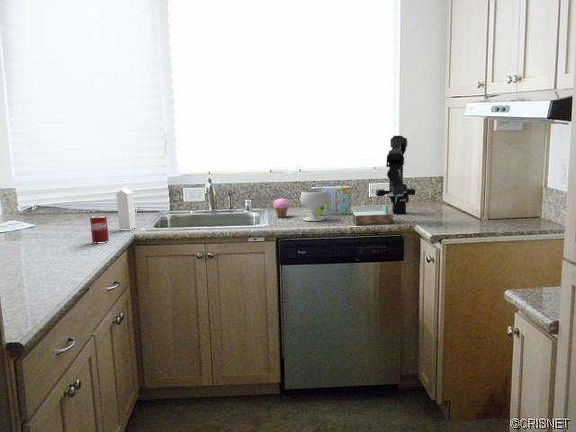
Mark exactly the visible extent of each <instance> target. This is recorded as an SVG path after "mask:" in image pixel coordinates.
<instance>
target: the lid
mask: <svg viewBox="0 0 576 432" xmlns="http://www.w3.org/2000/svg"><path fill="white" fill-rule="evenodd" d="M388 211H389V206H387V205H386V204H382V210H370V211H369V212H366V211H353V212H352V215H353V214H354V215H355V217H356V216H365V215H390V214H391V213H390V212H389V213H388Z"/></svg>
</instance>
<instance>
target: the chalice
mask: <svg viewBox="0 0 576 432" xmlns="http://www.w3.org/2000/svg"><path fill="white" fill-rule="evenodd" d="M299 199H300V200H299V201H300V203H301V205H302V206H303V207H306V208H308V209H309V211H310V212H311V216H307V217H304V218H303V219H302V220H303V221H306V222H321V221H325V220H327V218H326V217H325V216H320V215H316V211H317V210H318V209H319V208H320V207H322V206H323V205H325V204H326V202H327V194H326V192H325V191H324V190H311V189H306V190H302V191H301V193H300V198H299ZM312 213H313V214H312Z"/></svg>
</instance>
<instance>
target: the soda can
mask: <svg viewBox="0 0 576 432" xmlns="http://www.w3.org/2000/svg"><path fill="white" fill-rule="evenodd" d="M89 221H90V222H89V224H90V232H91V233H90V234H91V241H92V243H93V242H96V243H98V242H106V241H108V242H109V241H110V238H109V231H108V230H109V229H108V218H107V216H106V215H103V214H97V215H93V216H90V218H89ZM106 243H107V242H106Z"/></svg>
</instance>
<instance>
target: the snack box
mask: <svg viewBox="0 0 576 432" xmlns="http://www.w3.org/2000/svg"><path fill="white" fill-rule="evenodd" d="M310 190H324V191H325V192H326V194H327V202H326V204H325V205H323V206H322V207H320V208H319V209H318V210H317V211H316V215H317V216H332V215H333V216H334V215H336V216H337V215H339V216H340V215H351V214H352V204H351V203H352V202H351V185H344V186H343V185H342V186H341V185H339V186H314V187H313V186H312V187H311V188H310ZM312 214H313V213H312V212H311V215H312Z"/></svg>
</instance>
